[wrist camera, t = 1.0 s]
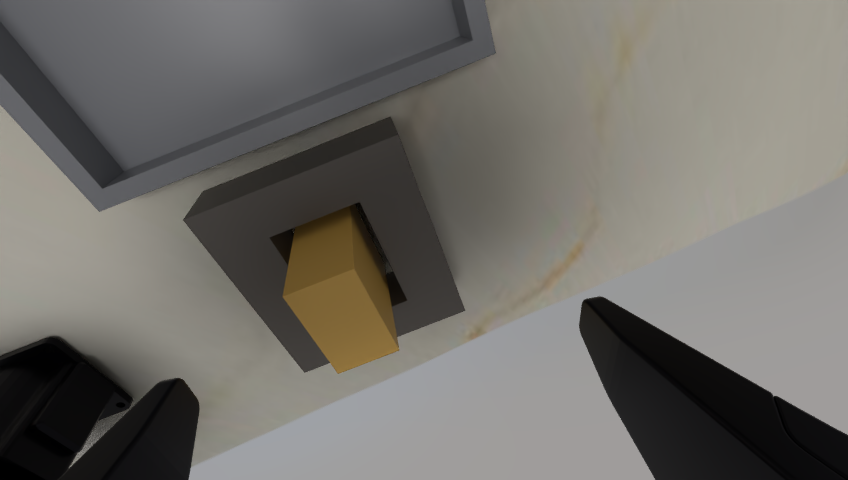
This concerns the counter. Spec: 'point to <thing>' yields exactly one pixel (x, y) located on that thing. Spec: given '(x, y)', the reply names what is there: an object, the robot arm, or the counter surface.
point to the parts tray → (210, 76)
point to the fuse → (341, 289)
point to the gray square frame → (313, 198)
